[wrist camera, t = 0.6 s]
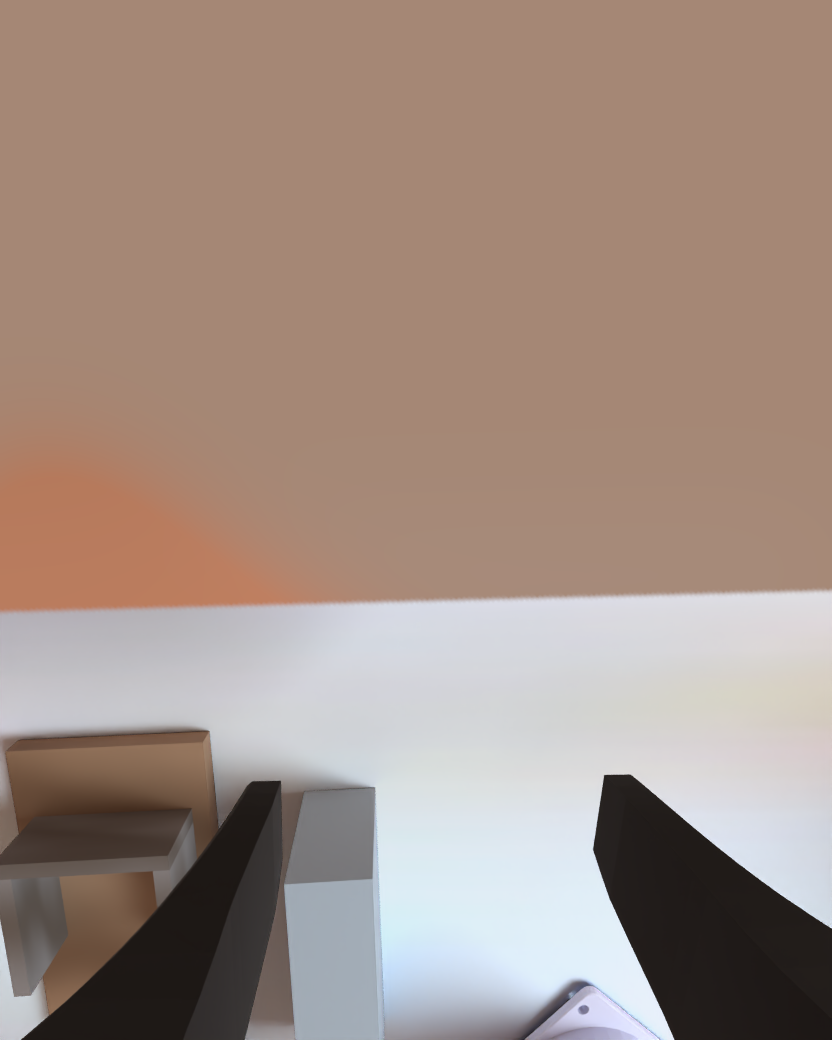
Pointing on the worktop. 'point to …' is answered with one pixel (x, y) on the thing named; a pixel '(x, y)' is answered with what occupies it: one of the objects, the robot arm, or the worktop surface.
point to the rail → (335, 918)
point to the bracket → (97, 847)
